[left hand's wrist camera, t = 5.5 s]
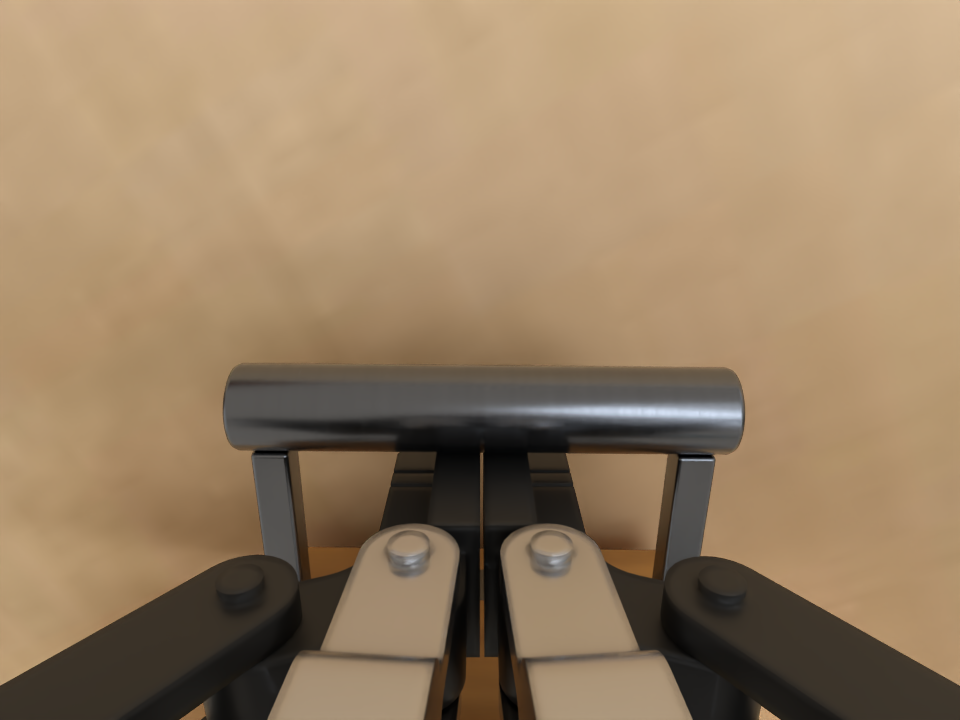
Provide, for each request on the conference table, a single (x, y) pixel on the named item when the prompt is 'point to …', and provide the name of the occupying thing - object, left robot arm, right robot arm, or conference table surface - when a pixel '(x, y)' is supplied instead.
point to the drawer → (482, 443)
